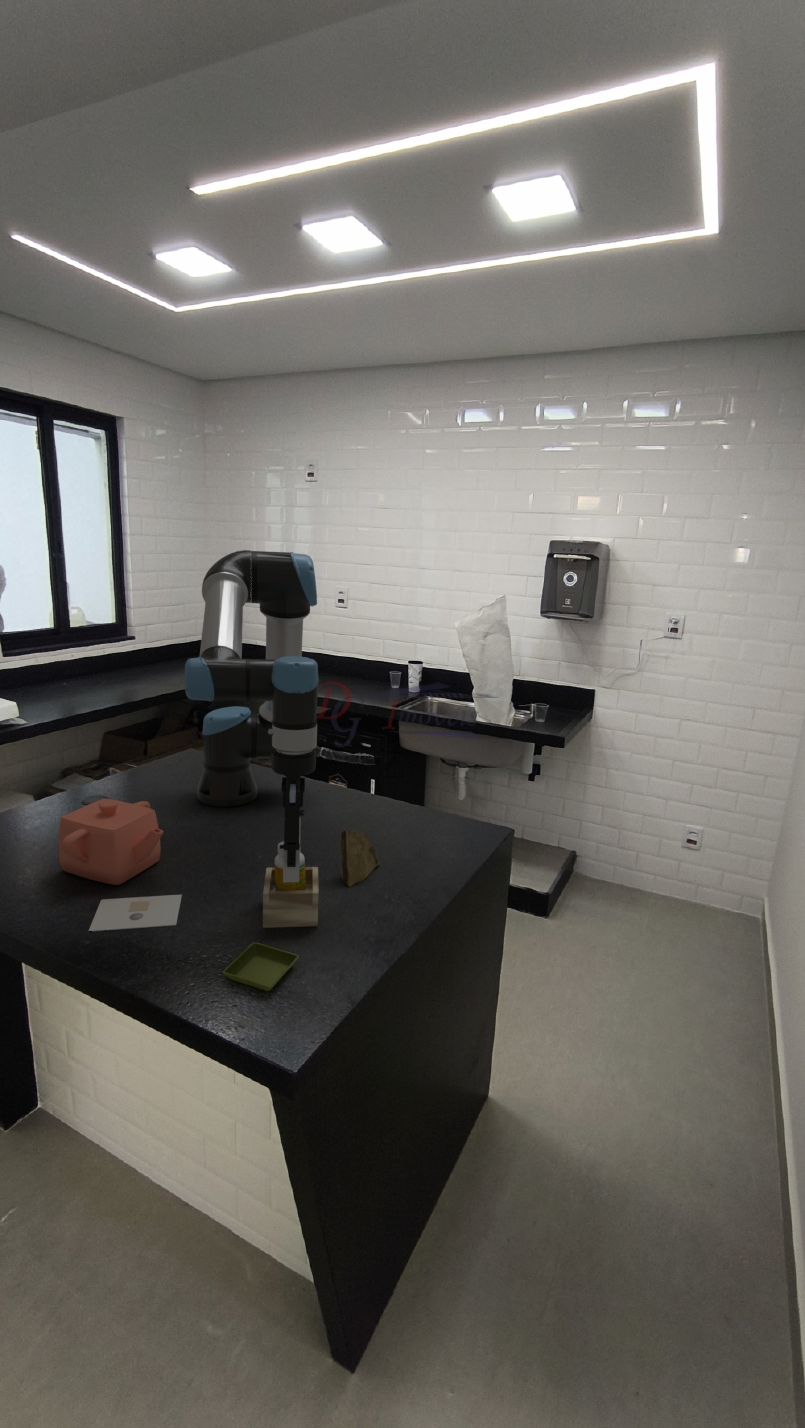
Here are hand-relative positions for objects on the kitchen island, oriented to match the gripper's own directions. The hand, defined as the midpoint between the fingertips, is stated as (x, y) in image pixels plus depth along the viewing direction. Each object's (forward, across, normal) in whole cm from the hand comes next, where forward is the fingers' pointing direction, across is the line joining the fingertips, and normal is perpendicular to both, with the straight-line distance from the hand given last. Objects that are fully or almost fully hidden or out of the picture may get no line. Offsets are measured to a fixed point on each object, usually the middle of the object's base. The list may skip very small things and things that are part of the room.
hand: (291, 865), depth 115 cm
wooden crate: (+9, 0, 0) cm, 9 cm away
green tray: (+10, +17, -4) cm, 20 cm away
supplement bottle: (+6, 0, 0) cm, 6 cm away
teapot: (+10, -17, -34) cm, 39 cm away
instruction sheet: (+9, -1, -27) cm, 29 cm away
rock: (+10, -14, +14) cm, 22 cm away
